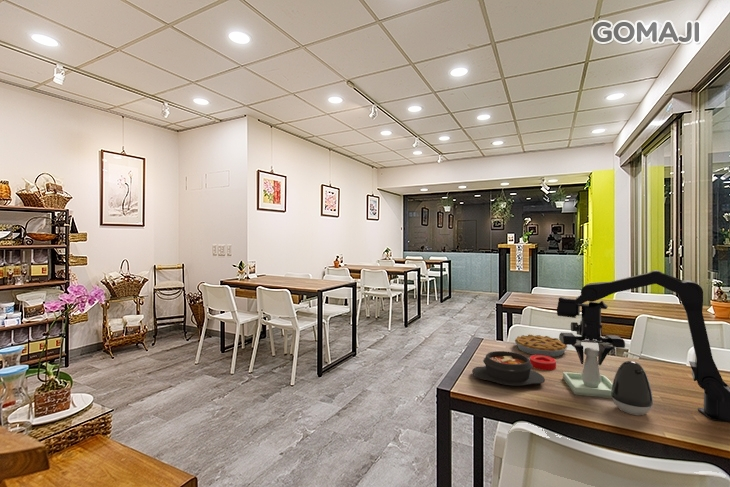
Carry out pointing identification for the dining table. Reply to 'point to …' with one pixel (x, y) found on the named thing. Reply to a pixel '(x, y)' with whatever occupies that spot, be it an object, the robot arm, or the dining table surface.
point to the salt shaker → (591, 368)
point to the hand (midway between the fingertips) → (590, 364)
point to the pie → (541, 345)
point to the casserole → (508, 369)
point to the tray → (580, 389)
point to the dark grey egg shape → (632, 389)
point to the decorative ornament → (543, 362)
